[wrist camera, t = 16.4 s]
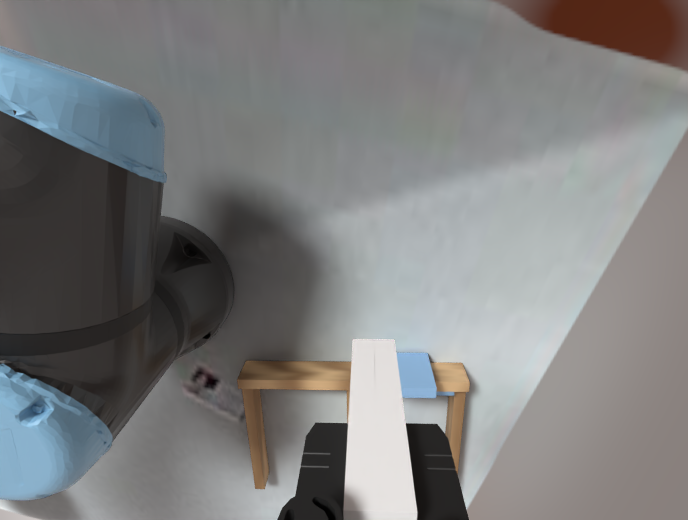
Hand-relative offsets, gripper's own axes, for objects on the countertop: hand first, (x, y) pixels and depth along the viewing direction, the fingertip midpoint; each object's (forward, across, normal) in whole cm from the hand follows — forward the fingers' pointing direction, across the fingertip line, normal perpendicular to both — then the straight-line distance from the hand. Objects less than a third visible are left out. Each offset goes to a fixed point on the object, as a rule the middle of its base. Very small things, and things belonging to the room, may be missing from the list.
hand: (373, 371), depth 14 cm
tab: (+26, +4, -17) cm, 31 cm away
